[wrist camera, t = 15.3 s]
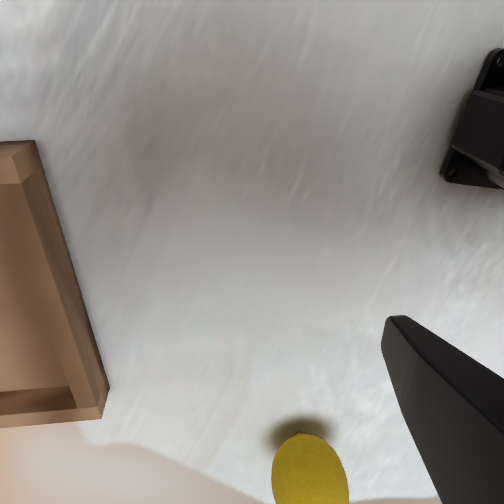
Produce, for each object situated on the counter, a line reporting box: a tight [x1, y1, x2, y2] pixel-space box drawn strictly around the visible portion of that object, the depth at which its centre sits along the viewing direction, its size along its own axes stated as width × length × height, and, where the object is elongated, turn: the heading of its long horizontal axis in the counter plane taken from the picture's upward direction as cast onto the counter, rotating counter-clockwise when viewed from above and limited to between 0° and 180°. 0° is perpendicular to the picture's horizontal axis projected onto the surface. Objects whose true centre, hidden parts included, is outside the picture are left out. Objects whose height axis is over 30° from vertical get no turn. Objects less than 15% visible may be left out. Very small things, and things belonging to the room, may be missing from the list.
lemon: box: [271, 432, 349, 504], centre depth 29 cm, size 6×6×8 cm
